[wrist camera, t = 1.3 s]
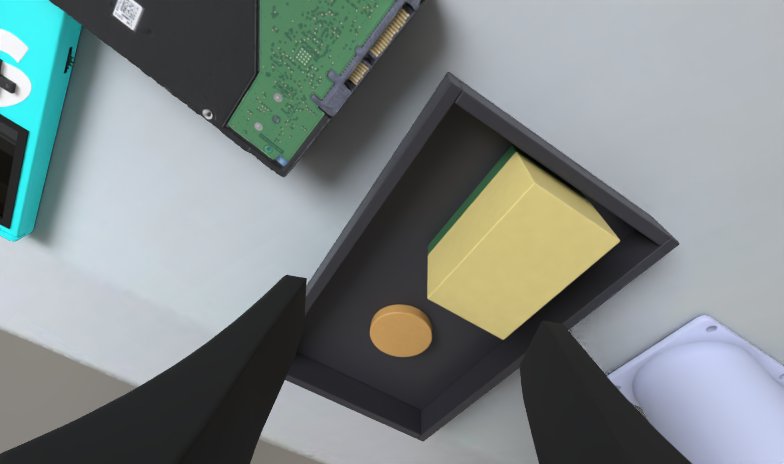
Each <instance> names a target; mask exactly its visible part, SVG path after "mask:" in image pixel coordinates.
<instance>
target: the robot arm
mask: <svg viewBox="0 0 784 464" xmlns="http://www.w3.org/2000/svg"><path fill="white" fill-rule="evenodd" d="M306 280H307V278H301V277H296V276H290V275H286V276H284V277H283V278H282V279H281V280H280V281H279V282H278V283H277V284H275V285H274V286H273V287H272V288H271V289H270V290H269V291H268V292H267V293H266V294H265V295H264V296H263V297H262V298H261V299H259V300H258V301H257V302H256V303H255V304H254V305H253V306H252V307H250V308H249V309H248V310H247V311H246V312H245V313H244V314H242V315H241V316H240V317H239V318H238V319H237V320H235V321H234V322H233V323H232V324H230V325H229V326H228V327H227V328H225V329H224V330H223V331H221V332H220V333H219V334H218V335H216V336H215V337H214V338H212V339H211V340H210V341H209V342H207V343H206V344H204V345H203V346H202V347H200V348H199V349H197V350H196V351H195V352H193V353H192V354H190V355H189V356H187V357H186V358H184V359H183V360H181V361H180V362H178V363H177V364H175V365H174V366H172V367H171V368H169V369H167V370H166V371H164V372H163V373H161V374H159V375H158V376H156V377H154V378H153V379H151V380H149V381H148V382H146V383H144V384H143V385H141V386H139V387H138V388H136V389H134V390H133V391H130V392H129V393H127V394H125V395H123V396H121V397H119V398H117V399H115V400H114V401H112V402H110V403H108V404H106V405H104V406H102V407H100V408H98V409H96V410H94V411H93V412H91V413H89V414H87V415H85V416H83V417H81V418H79V419H77V420H75V421H73V422H70V423H69V424H66V425H64V426H62V427H60V428H57V429H55V430H53V431H51V432H48V433H46V434H44V435H42V436H40V437H37V438H35V439H33V440H31V441H28V442H26V443H24V444H22V445H19V446H17V447H15V448H12V449H10V450H8V451H5V452H3V453H1V454H0V464H250V462H251V459H252V456H253V453H254V450H255V447H256V445H257V442H258V439H259V437H260V434H261V432H262V430H263V427H264V425H265V423H266V420H267V418H268V416H269V414H270V412H271V409H272V407H273V405H274V403H275V400H276V398H277V396H278V394H279V392H280V389H281V387H282V385H283V383H284V380H285V378H286V376H287V374H288V371H289V369H290V367H291V365H292V362H293V360H294V358H295V355H296V352H297V349H298V346H299V342H300V339H301V336H302V333H303V329H304V323H305V302H306ZM520 376H521V385H522V393H523V399H524V404H525V408H526V412H527V416H528V421H529V425H530V429H531V433H532V437H533V441H534V445H535V449H536V453H537V457H538V461H539V464H784V365H783V364H781V363H780V362H778V361H777V360H775V359H773V358H772V357H770V356H769V355H767V354H766V353H764V352H763V351H761V350H760V349H758V348H757V347H755V346H754V345H752V344H751V343H749V342H748V341H746V340H745V339H743V338H742V337H740V336H739V335H737V334H736V333H734V332H733V331H731V330H730V329H728V328H727V327H725V326H724V325H722V324H721V323H719V322H718V321H716V320H715V319H713V318H712V317H710V316H708V315H702V316H699V317H697V318H695V319H694V320H692V321H691V322H689V323H688V324H686V325H684V326H683V327H681V328H680V329H678V330H677V331H675V332H674V333H672V334H671V335H669V336H668V337H666V338H664V339H663V340H661V341H660V342H658V343H657V344H655V345H654V346H652V347H651V348H649V349H648V350H646V351H644V352H643V353H641V354H640V355H638V356H637V357H635V358H634V359H632V360H631V361H629V362H628V363H626V364H624V365H623V366H621V367H620V368H618V369H617V370H615V371H614V372H612V373H611V374H609V375H607V376H606V375H605V374H604V372H603V371H602V370H601V369H600V368H599V367H598V365H597V364H596V363H595V362H594V361H593V359H592V358H591V357H590V356H589V355H588V354H587V352H586V351H585V350H584V349H583V348H582V346H581V345H580V344H579V343H578V342H577V341H576V339H575V338H574V337H573V336H572V335H571V333H570V332H569V331H568V330H567V329H566V328H565V327H564V326H563V325H562V324H559V323H553V322H548V321H542V322H541V324H540V326H539V328H538V330H537V332H536V334H535V336H534V338H533V339H532V341H531V343H530V345H529V347H528V349H527V351H526V353H525V355H524V357H523V359H522V361H521V363H520ZM630 402H631V403H633V404H634V405H636V406H638V407H640V408H642V410H643V412H644V414H645V416H646V418H647V420H648V421H647V420H646V418H645V417H644V416H643V415H642V414H641V413H640V412H639V411H638V410H637V409H636V408H635V407H634V406H633V405H632V404H631V403H630Z"/></svg>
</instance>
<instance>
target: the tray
mask: <svg viewBox="0 0 784 464" xmlns="http://www.w3.org/2000/svg"><path fill="white" fill-rule="evenodd" d="M511 145H514V146H515V147H517V148H518V149H520V150H521V151H523V152H524V153H526V154H527V155H528V156H530V157H531V158H533V159H534V160H536V161H537V162H539V163H540V164H541V165H543V166H544V167H546V168H547V169H549V170H550V171H552V172H553V173H554V174H556V175H557V176H559V177H560V178H562V179H563V180H565V181H566V182H567V183H569V184H570V185H572V186H573V187H575V188H576V189H578V190H579V191H580V192H582V193H583V195H584V196H585V197H586V198H587V200H588V201H589V202H590V203H591V204H592V206H593V207H594V208H595V209H596V211H597V212H598V213H599V214H600V216H601V217H602V218H603V219H604V221H605V222H606V223H607V224H608V226H609V227H610V228H611V229H612V231H613V232H614V233H615V234H616V236H617V237H618V238H619V239H620V242H619V243H618V244H617V245H615V246H614V247H613V248H612V249H611V250H609V251H608V252H607V253H606V254H605V255H603V256H602V257H601V258H600V259H599V260H598V261H596V262H595V263H594V264H593V265H592V266H590V267H589V268H588V269H587V270H586V271H585V272H583V273H582V274H581V275H580V276H579V277H577V278H576V279H575V280H574V281H573V282H572V283H570V284H569V285H568V286H567V287H566V288H564V289H563V290H562V291H561V292H560V293H559V294H557V295H556V296H555V297H554V298H553V299H551V300H550V301H549V302H548V303H547V304H546V305H544V306H543V307H542V308H541V309H540V310H538V311H537V312H536V313H535V314H534V315H532V316H531V317H530V318H529V319H528V320H527V321H525V322H524V323H523V324H522V325H521V326H519V327H518V328H517V329H516V330H515V331H514V332H512V333H511V334H510V335H509V336H508V337H506V338H505V339H504V340H502V339H500V338H499V337H497V336H495V335H493V334H491V333H489V332H488V331H486V330H484V329H482V328H480V327H478V326H477V325H475V324H473V323H471V322H469V321H467V320H466V319H464V318H462V317H460V316H458V315H457V314H455V313H453V312H451V311H449V310H447V309H446V308H444V307H442V306H440V305H438V304H436V303H435V302H433V301H431V300H429V299H428V298H427V281H428V245H429V243H430V242H431V241H432V240H433V239H434V237H435V236H436V235H437V234H438V233H439V232H440V230H441V229H442V228H443V227H444V226H445V224H446V223H447V222H448V221H449V220H450V218H451V217H452V216H453V215H454V214H455V212H456V211H457V210H458V209H459V208H460V206H461V205H462V204H463V203H464V202H465V200H466V199H467V198H468V197H469V196H470V194H471V193H472V192H473V191H474V190H475V188H476V187H477V186H478V185H479V184H480V182H481V181H482V180H483V179H484V178H485V176H486V175H487V174H488V173H489V172H490V170H491V169H492V168H493V167H494V166H495V165H496V163H497V162H498V161H499V160H500V159H501V157H502V156H503V155H504V154H505V153H506V151H507V150H508V149H509V148H510V147H511ZM678 245H679V242H678V241H677V240H676V239H675V238H674V237H673V236H672V235H671V234H670V233H669V232H667V231H666V230H665V229H664V228H663V227H662V226H661V225H660V224H659V223H658V222H657V221H656V220H655V219H654V218H653V217H652V216H650V215H649V214H648V213H646V212H645V211H643V210H642V209H640V208H639V207H638V206H636V205H635V204H633V203H632V202H631V201H629V200H628V199H626V198H625V197H624V196H622V195H621V194H619V193H618V192H617V191H615V190H614V189H612V188H611V187H610V186H608V185H607V184H605V183H604V182H603V181H601V180H600V179H598V178H597V177H596V176H594V175H593V174H591V173H590V172H589V171H587V170H586V169H584V168H583V167H581V166H580V165H579V164H577V163H576V162H574V161H573V160H572V159H570V158H569V157H567V156H566V155H565V154H563V153H562V152H560V151H559V150H558V149H556V148H555V147H553V146H552V145H551V144H549V143H548V142H546V141H545V140H544V139H542V138H541V137H539V136H538V135H537V134H535V133H534V132H532V131H531V130H530V129H528V128H527V127H525V126H524V125H523V124H521V123H520V122H518V121H517V120H515V119H514V118H513V117H511V116H510V115H508V114H507V113H506V112H504V111H503V110H501V109H500V108H499V107H497V106H496V105H494V104H493V103H492V102H490V101H489V100H487V99H486V98H485V97H483V96H482V95H480V94H479V93H478V92H476V91H475V90H473V89H472V88H471V87H469V86H468V85H466V84H465V83H464V82H462V81H461V80H459V79H458V78H457V77H455V76H454V75H452V74H451V73H449V72H448V73H447V74H446V75H445V77H444V78H443V80H442V81H441V83H440V84H439V86H438V87H437V89H436V90H435V92H434V93H433V95H432V97H431V98H430V100H429V101H428V103H427V104H426V106H425V107H424V109H423V110H422V112H421V113H420V115H419V116H418V118H417V119H416V121H415V122H414V124H413V125H412V127H411V128H410V130H409V131H408V133H407V134H406V136H405V137H404V139H403V140H402V142H401V143H400V145H399V147H398V148H397V150H396V151H395V153H394V154H393V156H392V157H391V159H390V160H389V162H388V163H387V165H386V166H385V168H384V169H383V171H382V172H381V174H380V175H379V177H378V178H377V180H376V181H375V183H374V184H373V186H372V187H371V189H370V190H369V192H368V193H367V195H366V197H365V198H364V200H363V201H362V203H361V204H360V206H359V207H358V209H357V210H356V212H355V213H354V215H353V216H352V218H351V219H350V221H349V222H348V224H347V225H346V227H345V228H344V230H343V231H342V233H341V234H340V236H339V237H338V239H337V240H336V242H335V243H334V245H333V246H332V248H331V250H330V251H329V253H328V254H327V256H326V257H325V259H324V260H323V262H322V263H321V265H320V266H319V268H318V269H317V271H316V272H315V274H314V275H313V277H312V278H311V280H310V281H309V283H308V284H307V286H306V302H305V323H304V329H303V333H302V336H301V339H300V342H299V346H298V349H297V352H296V355H295V358H294V360H293V362H292V365H291V367H290V369H289V371H288V374H287V376H286V378H285V380H287V381H289V382H291V383H294V384H296V385H298V386H300V387H302V388H305V389H307V390H309V391H311V392H314V393H316V394H318V395H320V396H323V397H325V398H327V399H329V400H332V401H334V402H336V403H338V404H340V405H343V406H345V407H347V408H349V409H352V410H354V411H356V412H358V413H361V414H363V415H365V416H367V417H369V418H372V419H374V420H376V421H378V422H381V423H383V424H385V425H387V426H390V427H392V428H394V429H396V430H398V431H401V432H403V433H405V434H407V435H410V436H412V437H414V438H417V439H419V440H421V441H425V440H426V439H427V438H428V437H430V436H431V435H432V434H434V433H435V432H436V431H438V430H439V429H440V428H441V427H443V426H444V425H445V424H447V423H448V422H449V421H451V420H452V419H453V418H454V417H456V416H457V415H458V414H460V413H461V412H462V411H464V410H465V409H466V408H467V407H469V406H470V405H471V404H473V403H474V402H475V401H476V400H478V399H479V398H480V397H482V396H483V395H484V394H486V393H487V392H488V391H489V390H491V389H492V388H493V387H495V386H496V385H497V384H499V383H500V382H501V381H502V380H504V379H505V378H506V377H508V376H509V375H510V374H512V373H513V372H514V371H515V370H517V369H518V368H519V367H520V363H521V361H522V359H523V357H524V355H525V353H526V351H527V349H528V347H529V345H530V343H531V341H532V339H533V338H534V336H535V334H536V332H537V330H538V328H539V326H540V324H541V322H542V321H548V322H553V323H559V324H562V325H563V326H564V327H565V328H566V329H567V330H569V329H570V328H571V327H573V326H574V325H575V324H577V323H578V322H579V321H580V320H582V319H583V318H584V317H586V316H587V315H588V314H590V313H591V312H592V311H593V310H595V309H596V308H597V307H599V306H600V305H601V304H603V303H604V302H605V301H606V300H608V299H609V298H610V297H612V296H613V295H614V294H616V293H617V292H618V291H619V290H621V289H622V288H623V287H625V286H626V285H627V284H629V283H630V282H631V281H632V280H634V279H635V278H636V277H638V276H639V275H640V274H642V273H643V272H644V271H645V270H647V269H648V268H649V267H651V266H652V265H653V264H654V263H656V262H657V261H658V260H660V259H661V258H662V257H664V256H665V255H666V254H667V253H669V252H670V251H671V250H673V249H674V248H675V247H677V246H678ZM397 304H402V305H409V306H413V307H415V308H417V309H419V310H421V311H422V312H424V313H425V314H426V315H427V316H428V318H429V319H430V321H431V324H432V341H431V343H430V345H429V347H428V348H427V349H426V350H425V351H423V352H422V353H420V354H418V355H415V356H410V357H396V356H392V355H389V354H386V353H384V352H382V351H381V350H379V349H378V348H377V347H376V346H375V345H374V343H373V342H372V340H371V337H370V326H371V322H372V319H373V317H374V315H375V314H376V313H377V312H378V311H379V310H381V309H382V308H384V307H387V306H390V305H397Z"/></svg>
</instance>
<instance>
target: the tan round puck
mask: <svg viewBox="0 0 784 464" xmlns="http://www.w3.org/2000/svg"><path fill="white" fill-rule="evenodd" d="M370 337H371V340H372V342H373V343H374V345H375V346H376V347H377V348H378V349H379V350H381V351H382V352H384V353H386V354H389V355H392V356H396V357H410V356H415V355H418V354H420V353H422V352H423V351H425V350H426V349H427V348H428V347H429V345H430V343H431V341H432V324H431V321H430V319H429V318H428V316H427V315H426V314H425V313H424V312H422V311H421V310H419V309H417V308H415V307H413V306H409V305H402V304H397V305H390V306H387V307H384V308H382V309H381V310H379V311H378V312H377V313H376V314H375V315H374V317H373V319H372V322H371V326H370Z"/></svg>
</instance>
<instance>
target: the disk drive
mask: <svg viewBox="0 0 784 464" xmlns="http://www.w3.org/2000/svg"><path fill="white" fill-rule="evenodd" d="M49 1H50V2H51V3H53V4H54V5H55V6H57V7H59V8H60V9H61V10H63V11H64V12H65V13H67V14H68V15H69V16H71V17H72V18H73V19H74V20H76V21H77V22H78V23H80V24H81V25H83V26H84V27H85V28H86V29H88V30H89V31H90V32H92V33H93V34H94V35H96V36H97V37H98V38H99V39H101V40H102V41H103V42H104V43H106V44H107V45H109V46H110V47H112V48H113V49H114V50H115V51H117V52H118V53H119V54H121V55H122V56H123V57H125V58H127V59H128V60H129V61H130V62H131V63H133V64H134V65H136V66H137V67H138V68H140V69H141V70H142V72H144V73H145V74H146V75H148V76H149V77H151V78H153V79H154V80H155V81H156V82H157V83H158V84H160V85H161V86H163V87H165V88H166V89H167V90H168V91H169V92H170V93H171V94H172V95H174V96H175V97H177V98H178V99H179V100H181V101H182V102H183V103H185V104H187V105H188V107H189V108H191V109H192V110H193V111H195V112H196V113H197V114H199V115H201V116H203V117H204V118H205V119H206V120H207V121H209V122H210V123H212V124H213V125H214V126H216V127H217V128H218V129H219V130H220V131H221V132H222V133H223V134H225V135H226V136H227V137H228V138H230V139H231V140H232V141H234V143H236V144H237V145H239V146H240V147H241V148H242V149H243V150H245V151H247V152H249V153H251V154H252V155H254V156H256V158H257V159H259V160H260V161H261V162H262V163H263V164H265V165H266V166H267V167H269V168H270V169H271V170H274V171H275V172H276V173H277V174H279V175H280V176H282V177H285V176H286V175H287V174H288V173H289V172H290V171H291V170H292V169H293V167H294V166H295V165H296V164H297V162H298V161H299V160H300V159H301V157H302V156H303V155H304V153H305V152H306V151H307V150H308V148H309V147H310V146H311V145H312V143H313V142H314V141H315V139H316V138H317V137H318V136H319V134H320V133H321V132H322V131H323V129H324V128H325V127H326V125H327V124H328V123H329V122H330V121H331V119H332V118H333V117H334V116H335V115H336V113H337V112H338V111H339V109H340V108H341V107H342V105H343V104H344V103H345V102H346V100H347V99H348V98H349V96H350V95H351V94H352V93H353V91H354V90H355V89H356V88H357V86H358V85H359V84H360V82H361V81H362V80H363V79H364V78H365V76H366V75H367V74H368V72H369V71H370V70H371V68H372V67H373V66H374V65H375V63H376V62H377V61H378V59H379V58H380V57H381V56H382V54H383V53H384V52H385V51H386V49H387V48H388V47H389V45H390V44H391V43H392V42H393V40H394V39H395V38H396V36H397V35H398V34H399V33H400V31H401V30H402V29H403V27H404V26H405V25H406V24H407V22H408V21H409V20H410V18H411V17H412V16H413V15H414V13H415V12H416V11H417V10H418V8H419V7H420V6H421V5H422V3H423V2H424V1H425V0H49Z"/></svg>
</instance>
